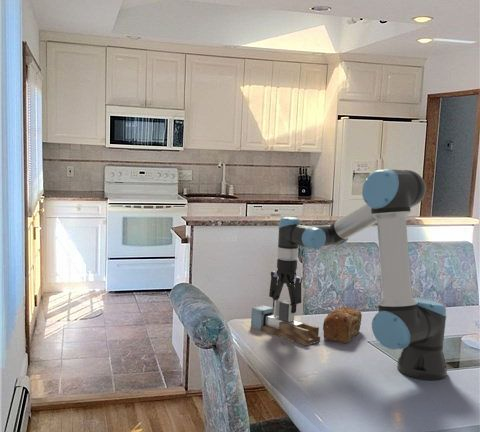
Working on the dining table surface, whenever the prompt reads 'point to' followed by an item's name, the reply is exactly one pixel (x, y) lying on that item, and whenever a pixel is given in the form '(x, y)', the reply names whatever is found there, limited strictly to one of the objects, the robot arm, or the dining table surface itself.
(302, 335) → the rail
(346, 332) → the bread
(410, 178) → the robot arm
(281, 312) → the grey and white block
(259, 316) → the socket
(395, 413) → the dining table surface
